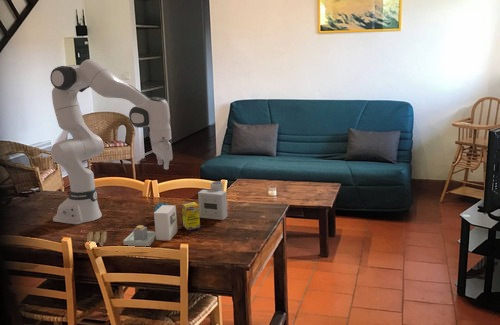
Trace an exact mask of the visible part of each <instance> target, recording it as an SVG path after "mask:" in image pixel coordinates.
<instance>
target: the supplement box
mask: <svg viewBox="0 0 500 325" xmlns="http://www.w3.org/2000/svg"><path fill="white" fill-rule="evenodd" d="M181 208H182V209H181V210H182V224H183V225H182V226H183V228H184V229H186V231H187V232H189V231H193V230H199V229H201V222H200V221H201V220H200V219H201V217H200V215H199V203H197V202H195V201H193V202H188V203H181Z"/></svg>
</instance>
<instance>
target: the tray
mask: <svg viewBox="0 0 500 325" xmlns="http://www.w3.org/2000/svg"><path fill="white" fill-rule="evenodd" d="M147 236H148V238H147V239H146V240H144V241H141V240H134V232H133V231H132V232H130V234H129V235H128V236H127V237H126V238H124V239H123V241H122V243H123V246H124V245H128V246H130V247H146V246H149V247H150V246H151V245H152V244H153V243H154V242H155V241H157V240H156V231H153V230H152V231H149V230H147ZM128 246H127V247H128Z"/></svg>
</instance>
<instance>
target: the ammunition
mask: <svg viewBox="0 0 500 325" xmlns="http://www.w3.org/2000/svg"><path fill="white" fill-rule="evenodd" d="M100 232H101V231H95V233H93V231H88V233H87V234H86V242H89V241H92V242H96V244H98V245H99V247H100V246H102V247H103V246H104V244H105V243H106V241H107V231H102V232H101V234H100ZM86 242H84V243H86Z"/></svg>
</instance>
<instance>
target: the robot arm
mask: <svg viewBox="0 0 500 325" xmlns="http://www.w3.org/2000/svg"><path fill="white" fill-rule="evenodd" d="M49 80H50V83H51V85H52V86H53V88H52V91H51V99H52V100H51V101H52V105H53V106H52V107H53V109H54V113H55V117H56V122H57V124H58V127H59V128H60V129H61V130H63V131H65V132H68V133H69V134H70V135H71V138H68V139H63V140H60V141H58V142H56V143H54V144H52V146H51V149H50V156H51V158H52V161H54V162H55V163H56V164H57V165H60V166H61V167H62V168H63V169H64V170H65V171H66V174H67V177H68V181H69V187H70V188H69V189H70V190H67V192H66V193H65V194H66V196H68V197H67V198H66V199H65V200H64V201H63V202H62V203H60V204H59V206H58V207H57V211H56V212H57V213H56V214H55V215H54V216H53V218H52V222H56V223H64V224H71V225H79V224H80V225H81V224H84V223H89V222H93V221H95V220H98V219H100V218H101V217H102V215H103V214H102V211H101V209H100V206H99V203H98V194H97V188H96V184H95V182H96V181H95V175H94V171H92V170H91V169H90V168H89V167H85V166H84V165H83V161H85V160H89V159H90V160H91V159H93V158H96V157H98V156H99V155H102V154H103V152H104V148H105V144H104V141H103V139H102V137H100V136H99V135H98V134H95V133H94V132H92V131H91V129H90V128H89V127H88V126H87V124H86V122H85V120H84V117H83V115H82V114H83V113H82V111H81V107H80V104H79V101H78V93H79V92H80V93H83V92H84V91H86V90H87V89H89V88H91V89H92V90H93V91H94V92H95V93H96V94H98V95H99V96H101V97H103V98H109V99H110V98H111V99H112V98H113V99H114V98H115V99H122V100H127V101H129V102H130V103H132V104H133V105H134V106H133V107H132V108H130V111H129V113H128V118H129V122H130V123H131V125H132V126H134V127H135V128H141V129H142V128H146V127H148V128H149V132H148V137H149V139H150V145H151V150H152V152H153V154H155V156H156V159H157V165H159V166H161V165H163V169H164V170H166V171H167V170H169V168H170V167H169V165H170V162H171V161H173V158H174V157H173V149H172V148H173V147H172V144H171V142H170V140H172V128H171V125H170V120H171V114H170V107H169V103H168V101H167V99H165V98H163V97H159V96H152V97H149V96H147V95H146V94H144V93H143V92H141V91H140V90H139V89H137V88H136V87H134V86H133V85H131V84H130V83H128V82H126V81H125V80H123V79H122V78H120V77H119V76H117V75H116V74H114V73H113V72H112V71H111V70H109V69H108V68H107V67H106V66H104V65H102V64H101V63H100V62H98V61H97V60H94V59H91V58H89V59H85V60H83V61H82V62H81V63H80V64H70V65H60V66H57V67H55V68H54V69H52V71H51V73H50V79H49Z"/></svg>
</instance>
